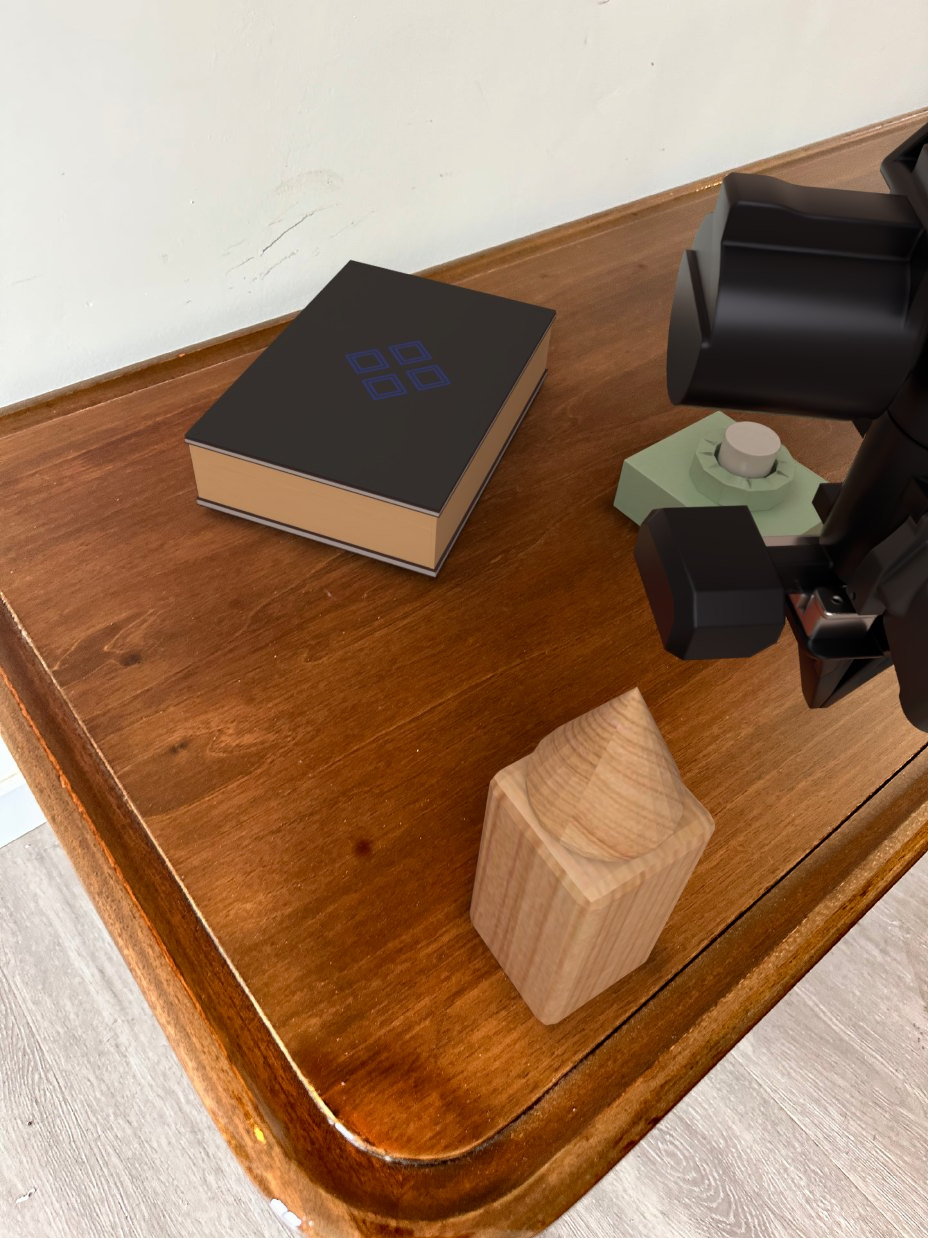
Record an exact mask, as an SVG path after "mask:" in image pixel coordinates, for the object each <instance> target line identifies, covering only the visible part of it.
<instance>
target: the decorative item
mask: <svg viewBox="0 0 928 1238" xmlns="http://www.w3.org/2000/svg"><path fill="white" fill-rule="evenodd" d="M659 729H660V728H659V727H658V725H657V723H656V721H655V719H654V716H653V715H652V713H651V711H650V708H649V707H648V705H647V703H646V701H645V699H644V697H643V695H642V693H641V691H640V689H639V686H636V687H634V688H632V689H630V690H628V691H626V692H624V693H622V694H620V695H617V696H616V697H614V698H612V699H610V700H608V701H607V702H604V703H603V704H601V705H599V706H597V707H595V708H593V709H591V710H589V711H587V712H586V713H583V714H582V715H580V716H578V717H575V718H574V719H572V720H569V721H568V722H566V723H564V724H562V725H560V726H557V727H556V728H555V729H554V730H552V732H550V733H549V734H547V735H546V736H545V737H543V738H542V739H541V740H540V741H539V742H538V744H537V745H536V747H535V749H534V751H533V752H531V753H530V754H528V755H525V756H523V757H522V758H520V759H518V760H516V761H515V762H513V763H510V764H509V765H507V766H505V767H503V768H502V769H500V770H498V771H497V772H496V773H495V774H494V776H493V777H492V778H491V780H490V781H489V787H488V793H487V798H486V806H485V812H484V819H483V825H482V831H481V832H482V833H481V838H480V845H479V851H478V855H477V856H478V857H477V864H476V870H475V876H474V883H473V890H472V897H471V903H470V909H469V917H470V922H471V924H472V926H473V927H474V929H475V930H476V932H477V933H478V935H479V936H480V937H481V939H482V940H483V942H484V944H485V945H486V947H487V948H488V949H489V951H490V952H491V954H492V956H493V957H494V958H495V959H496V961H497V962H498V964H499V966H500V967H501V968H502V970H503V971H504V973H505V974H506V976H507V978H509V980H510V982H511V983H512V984H513V986H514V987H515V989H516V990H517V992H518V993H519V995H520V997H521V998H522V1000H523V1001H524V1002H525V1004H526V1005H527V1007H528V1008H529V1010H530V1011H531V1012H532V1014H533V1016H535V1018H536V1019H537V1020H538V1021H540V1022H541V1023H542V1024H543V1025H544V1026H549V1025H550V1026H551V1025H556V1024H559V1023H560V1022H561V1021H562V1020H564V1019H566V1017H567V1018H568V1017H569V1015H571V1014H572V1013H574V1012H576V1011H577V1010H578V1009H580V1008H581V1007H582V1006H584V1005H585V1004H587V1003H588V1002H590V1001H591V1000H593V999H594V998H595V997H597V996H598V995H599V994H601V993H603V992H604V991H605V990H607V989H608V988H610V987H611V986H612V985H615V984H616V983H617V982H618V981H620V980H622V979H623V978H624V977H626V976H627V975H629V974H630V973H632V972H633V971H634V970H636V969H637V968H639V967H640V966H641V965H643V964H645V963H646V962H647V960H648V959H649V956H650V954H651V953H652V951H653V949H654V948H655V945H656V943H657V941H658V939H659V937H660V935H661V933H662V932H663V929H664V928H665V926H666V924H667V922H668V920H669V918H670V916H671V915H672V912H673V910H674V909H675V907H676V905H677V903H678V901H679V899H680V897H681V895H682V894H683V891H684V890H685V888H686V885H687V884H688V882H689V881H690V878H691V876H692V874H693V872H694V870H695V869H696V867H697V864H698V863H699V860H700V859H701V857H702V855H703V853H704V851H705V849H706V847H707V845H708V843H709V842H710V840H711V838H712V836H713V834H714V832H715V830H716V822H715V821H714V818H713V817H712V815H711V813H710V811H709V810H708V809H707V808H706V807H705V806H704V805H703V804H702V803H701V802H700V801H699V799H698V798H697V797H696V796H695V795H694V794H693V793H692V792H691V790H690V789H689V788H687V786H686V785H685V784H684V783H683V779H682V776H681V773H680V770H679V767H678V765H677V763H676V761H675V759H674V757H673V755H672V753H671V750H670V749H669V747H668V745H667V743H666V741H665V740H664V737H663V735H662V733H661V731H660V730H659Z"/></svg>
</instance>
